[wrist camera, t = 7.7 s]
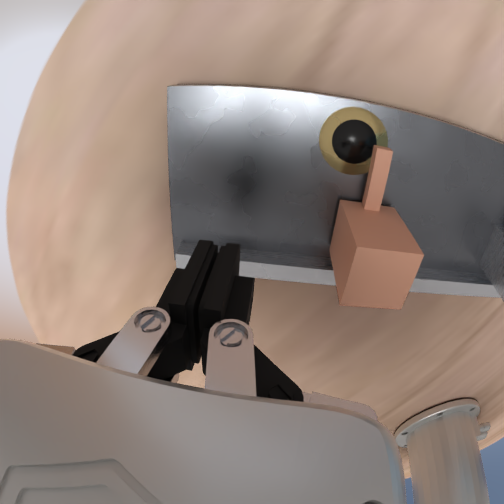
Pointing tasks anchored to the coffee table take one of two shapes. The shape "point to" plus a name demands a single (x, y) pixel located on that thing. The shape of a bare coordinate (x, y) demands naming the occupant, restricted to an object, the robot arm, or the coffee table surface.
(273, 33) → the coffee table surface
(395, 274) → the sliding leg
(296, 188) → the plate
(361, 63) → the coffee table surface
